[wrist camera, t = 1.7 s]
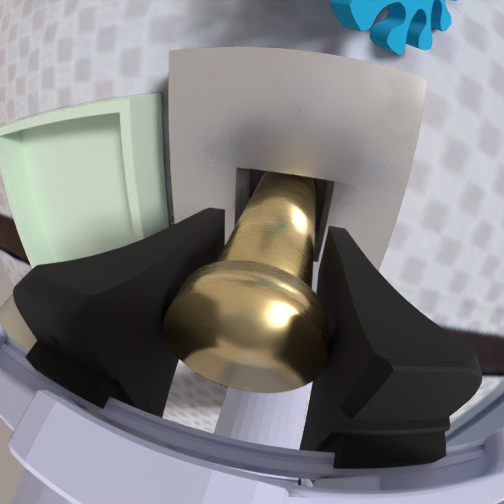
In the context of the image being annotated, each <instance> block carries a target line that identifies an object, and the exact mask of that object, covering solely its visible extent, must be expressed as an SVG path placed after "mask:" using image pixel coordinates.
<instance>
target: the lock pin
mask: <svg viewBox="0 0 504 504" xmlns="http://www.w3.org/2000/svg"><path fill="white" fill-rule="evenodd" d="M315 211H316V188H315V184H314V181H313V179H312V178H311V177H306V176H300V175H293V174H286V173H279V172H272V171H267V172H266V173H265V174H264V175H263V176H262V178H261V180H260V182H259V183H258V185H257V187H256V189H255V191H254V193H253V194H252V196H251V198H250V200H249V202H248V204H247V205H246V207H245V209H244V211H243V213H242V215H241V217H240V218H239V220H238V222H237V224H236V226H235V228H234V230H233V231H232V233H231V235H230V237H229V239H228V241H227V243H226V245H225V247H224V248H223V250H222V252H221V254H220V256H219V258H218V260H217V262H216V263H211V264H209V265H206V266H204V267H201V268H200V269H198V270H196V271H195V272H193V273H192V274H191V275H190V276H189V277H188V278H187V279H186V280H185V281H184V283H183V285H182V286H181V288H180V290H179V291H178V293H177V295H176V296H175V298H174V300H173V302H172V303H171V305H170V307H169V308H168V310H167V312H166V314H165V316H164V321H163V330H164V335H165V338H166V341H167V342H168V344H169V346H170V348H171V349H172V351H173V352H174V353H175V354H176V356H177V357H178V358H179V359H180V360H181V361H182V362H183V363H184V364H185V365H187V366H188V367H189V368H191V369H192V370H193V371H195V372H196V373H198V374H199V375H201V376H203V377H205V378H207V379H209V380H211V381H213V382H215V383H218V384H220V385H223V386H226V387H229V388H232V389H236V390H240V391H246V392H253V393H281V392H287V391H292V390H295V389H298V388H301V387H303V386H306V385H307V384H309V383H311V382H312V381H314V380H315V379H316V378H317V377H318V376H319V375H320V374H321V373H322V371H323V370H324V368H325V366H326V363H327V356H328V332H329V321H328V314H327V311H326V308H325V306H324V304H323V302H322V301H321V299H320V298H319V297H318V295H317V294H316V293H315V292H314V291H313V290H312V279H313V262H314V241H315Z"/></svg>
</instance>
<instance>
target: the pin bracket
mask: <svg viewBox="0 0 504 504" xmlns="http://www.w3.org/2000/svg"><path fill="white" fill-rule="evenodd" d="M426 86H427V79H425V78H422V77H419V76H416V75H413V74H410V73H407V72H404V71H400V70H397V69H394V68H390V67H386V66H383V65H379V64H375V63H371V62H367V61H362V60H358V59H353V58H348V57H343V56H337V55H331V54H325V53H318V52H311V51H303V50H293V49H282V48H266V47H209V48H194V49H182V50H173V51H169V91H168V100H169V146H170V167H171V184H172V198H173V210H174V221H175V224H176V223H178V222H180V221H182V220H184V219H186V218H188V217H190V216H192V215H194V214H196V213H198V212H200V211H202V210H204V209H206V208H209V207H211V208H218V209H225V245H226V243H227V241H228V239H229V237H230V235H231V233H232V231H233V230H234V228H235V226H236V224H237V222H238V220H239V218H240V217H241V215H242V213H243V211H244V209H245V207H246V205H247V204H248V202H249V187H250V170H251V169H256V170H264V171H272V172H279V173H286V174H293V175H300V176H306V177H312V178H318V179H324V180H328V184H327V190H326V195H325V201H324V206H323V211H322V216H321V221H320V226H319V231H317V230H315V241H314V262H313V279H312V290H313V291H314V292H315V293H316V291H317V280H318V270H319V266H320V262H321V258H322V254H323V250H324V245H325V241H326V236H327V232H328V227H329V226H335V227H340V228H345V229H346V230H347V231H348V233H349V234H350V235H351V237H352V238H353V239H354V241H355V242H356V243H357V245H358V246H359V248H360V249H361V250H362V252H363V253H364V254H365V255H366V257H367V258H368V259H369V261H370V262H371V263H372V264H373V266H374V267H375V268H376V269H377V270H378V271H379V269H380V266H381V263H382V261H383V258H384V255H385V252H386V250H387V247H388V244H389V241H390V238H391V235H392V232H393V229H394V226H395V223H396V220H397V217H398V213H399V210H400V207H401V204H402V200H403V197H404V193H405V190H406V186H407V182H408V178H409V174H410V170H411V166H412V162H413V158H414V154H415V149H416V145H417V140H418V135H419V130H420V124H421V119H422V113H423V107H424V100H425V94H426Z"/></svg>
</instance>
